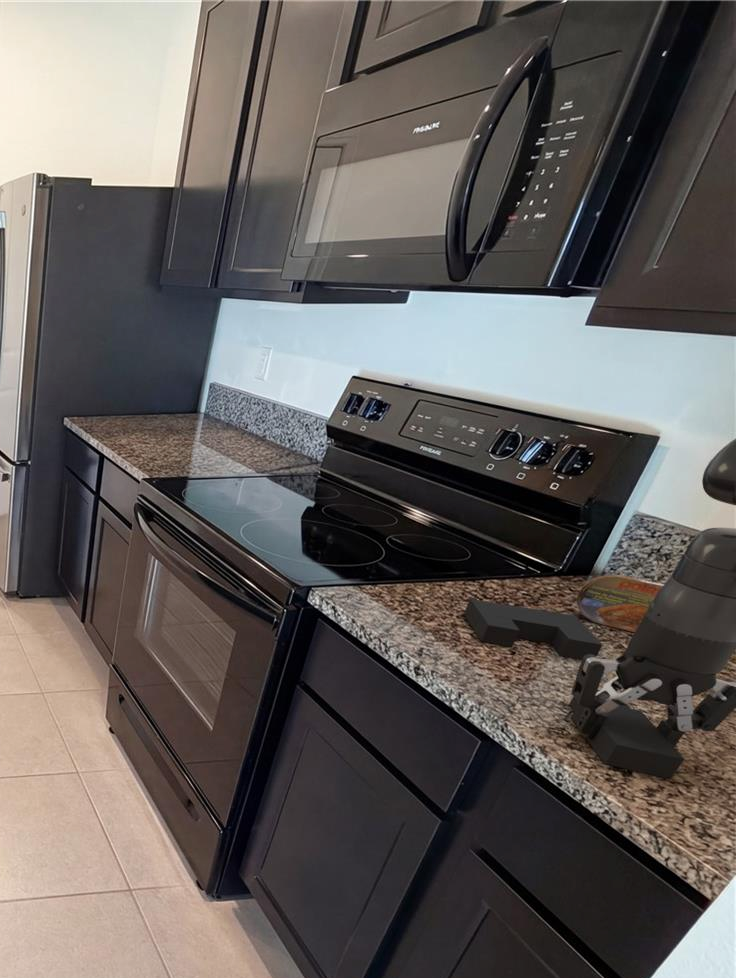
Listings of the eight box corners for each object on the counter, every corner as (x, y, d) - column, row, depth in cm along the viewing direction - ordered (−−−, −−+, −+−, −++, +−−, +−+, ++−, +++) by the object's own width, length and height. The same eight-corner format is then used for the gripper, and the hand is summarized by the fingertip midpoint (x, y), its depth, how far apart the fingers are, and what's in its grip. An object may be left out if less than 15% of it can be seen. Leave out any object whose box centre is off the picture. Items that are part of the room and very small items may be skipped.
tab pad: (616, 714, 86) (627, 695, 84) (671, 779, 75) (685, 758, 73) (559, 702, 88) (569, 684, 87) (604, 764, 77) (617, 744, 75)
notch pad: (566, 631, 106) (575, 615, 104) (593, 661, 98) (603, 644, 96) (463, 614, 111) (470, 598, 109) (480, 641, 102) (488, 624, 101)
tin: (566, 615, 111) (590, 570, 107) (568, 609, 113) (591, 565, 109) (693, 648, 102) (723, 601, 98) (692, 641, 104) (722, 594, 100)
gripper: (627, 624, 71) (558, 744, 79) (808, 653, 66) (716, 779, 74) (596, 596, 78) (535, 710, 85) (760, 621, 73) (680, 740, 80)
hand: (620, 742), depth 80 cm, fingers closed on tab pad, 6 cm apart
